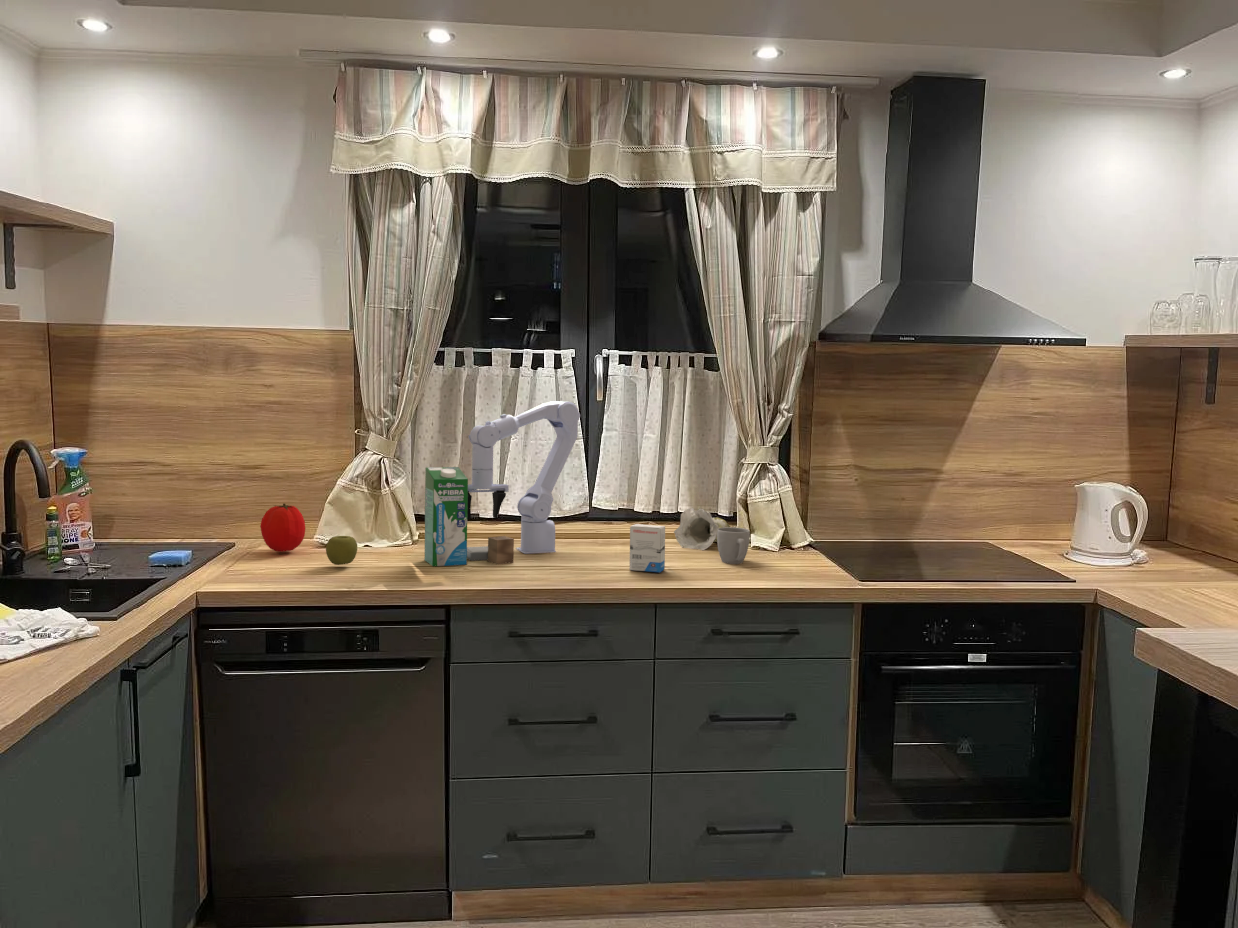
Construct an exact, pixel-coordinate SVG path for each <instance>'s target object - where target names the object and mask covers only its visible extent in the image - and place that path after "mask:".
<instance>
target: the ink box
mask: <svg viewBox="0 0 1238 928" xmlns="http://www.w3.org/2000/svg"><path fill="white" fill-rule="evenodd" d="M665 558H666V526H665V525H651V524H643V523H641V524H639V523H635V524H632V525H630V527H629V571H637V572H648V573H649V572H651V573H662V572H663V571H665V567H666V566H665V563H666V561H665Z"/></svg>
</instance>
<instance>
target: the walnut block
mask: <svg viewBox="0 0 1238 928" xmlns="http://www.w3.org/2000/svg"><path fill="white" fill-rule="evenodd" d="M487 541H488V542H487V546H488V560H487V562H489V563H492V564H495V565H503V564H514V555H515V554H514V553H515V552H514V551H515V550H514V548H515V547H514V546H515V539H514V538H512V537H509V536H507V535H506V536H505V535H500V536H499V535H498V536H489V537H488V538H487Z"/></svg>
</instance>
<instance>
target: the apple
mask: <svg viewBox="0 0 1238 928" xmlns="http://www.w3.org/2000/svg"><path fill="white" fill-rule="evenodd" d="M357 553H358V543H357V541H356V539H355V538H354V537H352V536H350V535H336V536H332V537H331V538H329V539H328V541H327V543H326V547H325V554H326V556H327V558H328V560H329V561H330V563H331V564H333V565H335V566H337V565H338V566H340V565H348V564H351V563H352V562H353V561H354V560H355V558H356V556H357Z"/></svg>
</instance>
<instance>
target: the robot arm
mask: <svg viewBox="0 0 1238 928" xmlns="http://www.w3.org/2000/svg"><path fill="white" fill-rule="evenodd" d="M579 411H580V410H579V408H578V407H577V405H576V403H574V402H572V401H560V400H559V401H558V400H551V401H549V402H543V403H541V404H539V405H537V406H535V407H532V408H530V409H529V410H526V411H524V412H521V413H519V414H517V415H516V416H515V415H514V416H513V415H511V414H506V413H503V414H500V415H499V417H498V418H497V419H494V420H492V421H490V420H486V421H485V424H484V425H481V424H478V425H475V426H473V428H472V429H471V430H470V433H469V435H468V440H469V442H470V444H471V447H472V450H471V461H472V462H471V484H468V509H467V520H471V518H472V517H471V515H472V514H471V512H472V511H471V509H472V508H471V504H472V498H473V496H472V495H471V493H492V494H491V495H492V518H493V519H498V518H499V513H500V508H501V507H502V504H503V502H504V500H505V499H506V495H507V492H509V484H507V483H506V484H505V483H503V484H501V483H498V484H497V483H494V446H495V445H496V443H497V442H499V441H501V440H504V439H507V438H509V437H511V436H513V435H516V434H517V433H518V431H519V429H520V428H523V427H524V426H527V425H529V424H533V423H535V422H539V421H541V420H543V419H544V420H547V421H548V422H549V424H550V425H551V426H552V428H553V429H554V432H555V434H556V438H555V440H554V442H553V444H552V446H551V448H550V451H549V453H548V455H547V457H546V458H545V461H544V463H543V465H542V468H541V469H540V471H539V474H538V476H537V478H536V480H535V483H534V484H533V485H532V486H531V487H529V488H528V489H527V490H526V492H525V493H524V495H523V496H522V497H520V498H519V500H518V502H517V507H516V509H517V512H518V514H519V515H520V516H521V519H520V521H521V522H520V547H516V548H515V549H516V550H517V551H519V552H520V553H523V554H524V555H529V554H544V553H546V554H547V553H557V551H556V525H555V522H554V521H553V520H551V519H548V518H549V517H550V515H551V513H552V504H553V501H554V496H553V493H552V492H553V491H554V488H555V486H556V484H557V482H558V480H559V477H560V476H561V473H562V470H563V469H564V466H565V464H566V462H567V460H568V458H569V455H570V454H571V452H572V449H573V448H574V445H575V444H576V441H577V438H578V432H579V431H578V427H579V420H580V418H581V413H580V412H579Z"/></svg>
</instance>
